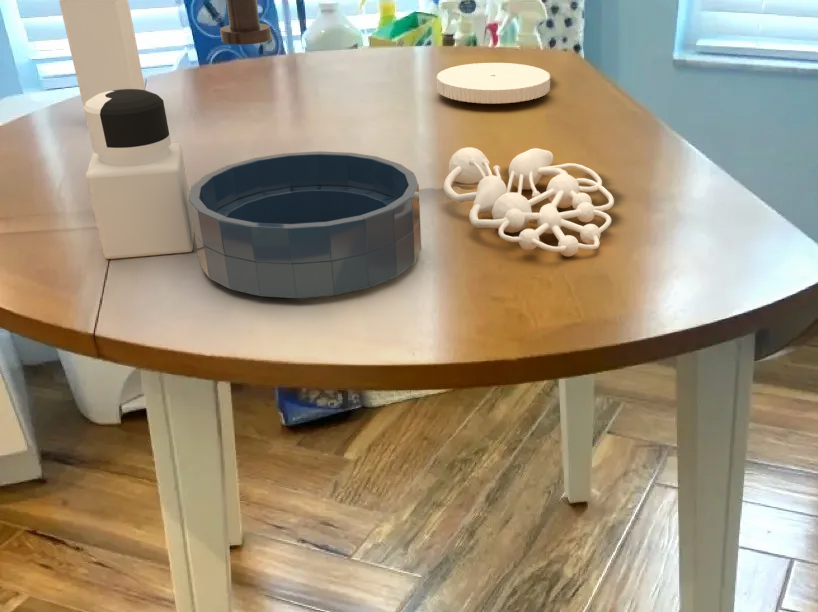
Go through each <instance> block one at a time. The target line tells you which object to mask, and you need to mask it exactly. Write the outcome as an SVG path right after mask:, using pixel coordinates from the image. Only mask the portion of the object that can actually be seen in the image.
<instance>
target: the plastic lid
mask: <svg viewBox="0 0 818 612" xmlns="http://www.w3.org/2000/svg"><path fill="white" fill-rule="evenodd" d="M550 90H551V74H550V72H549V71H547V70H545V69H543V68H540V67H537V66H533V65H527V64H522V63H513V62H512V63H511V62H510V63H509V62H482V63H481V62H478V63H467V64H460V65H456V66H452V67H448V68H446V69H443V70H441V71H439V72H438V73H437V75H436V91H437V93H438V94H439V95H441V96H442V97H444V98H447V99H450V100H454V101H458V102H467V103H473V104H474V103H476V104H488V105H489V104H510V103H513V104H514V103H520V102H525V101H526V102H527V101H531V100H532V101H533V99H534V100H536V99H540V97H544V96H545V95H547V94H549V92H550Z"/></svg>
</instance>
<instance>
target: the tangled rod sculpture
mask: <svg viewBox="0 0 818 612" xmlns="http://www.w3.org/2000/svg"><path fill="white" fill-rule="evenodd" d="M553 163H554V155H553V153H552V152H551V151H550V150H547V149H542V148H537V147H534V148H530V149H528V150H526V151H524V152H521V153H519V154H517V155H516V156H515V157H513V159H512V160H511V161H510V163H509V166H508V177H509V179H508V181H507V185H506V183H505V182H504V180H503V179H502V176H501V174H500V172H501V167H500V165H498V164H496V165H494V166H493V168H492V170H491V168H490V160H489V159H488V158H487V156H486V155H485V154H484V153H483V151H481V150H480V149H479V148H475V147H472V146H470V147H469V146H468V147H461V148H460V149H458V150H456V152H454V153H453V154H452V156H451V158H450V160H449V162H448V175H447V176H446V177H445V179H444V181H443V191H444V193H445V195H446V196H447V197H448V198H449V199H450V200H452V201H454V202H455V203H460V204H461V203H465V202H471V201H473V203H472V207H471V209H470V210H469V216H468V217H469V221H470V224H471V226H472V227H473V228H477V229H498V232H497V233H498V236H499V238H500V239H502V240H503V241H505V242H510V243H518V244H519V246H520V247H521V249H523V250H526V251H531V250H535V249H536V248H540V249H543V250H545V251H547V252H552V253H560V254H561V255H562V256H564V257H569V258H570V257H572V256H575V255H576V254H577V253H578V251H579V249H580V250H585V251H592V250H593V251H594V250H597V249H598V248H599V247H600V243H601V242H600V238H601V236H602V235H601V233H603V232H604V231H605V230H607V229H608V228H609V227H610V225H611V224H612V218H611V215H609V214H608V213H606V212H605V211H608V210H610V209H611V208H613V206H614V204H615V198H614V197H613V195H612V193H611V192H610V191H609V190H607V188H605V187H604V186H603V180H602V178H601V176H599V174H598V173H597V172H596V171H594V170H593V169H591V168H589V167H588V166H585V165H583V164H578V163H574V162H572V163H571V162H569V163H568V162H567V163H563V164H556V165H552V164H553ZM567 169H574V170H578V171H581V172H584V173H586V174H588V175H589V176H591V177H592V178H593V179H594V180H592V179H589V178H585V177H578V178H575V177H573V176H572V175H571V174H569V173H568V172H567ZM492 171H493V172H494V173H495V175H494V174H493V172H492ZM543 176H554V177H552V178H551V179H550V180H549V182H548V184H547V187H546V191H544V192H542V193H541V192H540V191H539V190H537V188H536V185H537V184H538V183H539V181H541V178H542V177H543ZM453 182H455V183H458V184H464V185H457V187H459V188H460V189H463V190H467V191H469V190H470V191H471V190H472V191H471V192H466V193H461V194H460V193H457V192H456V191H455V190H454V189H453V188H452V185H453ZM580 184H582V185H580ZM583 184H584V185H588V186H583ZM512 185H513V186H514V187H515V188H516V189H517V192H512V191H511V189H512ZM473 190H476V191H473ZM523 190H527V191H528V190H531V191H532V193H531V198H530V199H528V198H527V197H526V196H524V195H522V192H523ZM596 191H599V192H601V194H603V196H605V197H606V198H607V200H608V203H606V204H602V205H597V206H596V205H594V204H593V203H592V198H591V196H590V195H589V194H588V193H594V192H596ZM547 199H548V201H549V203H546V204H544V205H542V206H541V207H540V210H539V212H533V211H532V206H535V205H537V204H538V203H540V202H542V201H544V200H547ZM571 206H572V210H566V211H561V212H559V210H558V208H559V209H567V208H570V207H571ZM488 213H491V215H492V219H489V218H488V219H487V218H484V219H483V218H481V219H479V216H478V215H479V214H480V215H482V214H488ZM595 216H598V217H601V218H602V219H604V220H605V222H604V224H602V225H601V226H600V227H599V226H598V225H596V224H594V223H589V222H591V221H593V219H595ZM573 218H577V220H578V221H579V222H582V223H586V224H585V225H580V224H578V223H575V222H572V221H570V220H568V219H573ZM532 220H535V221H536V223H537V228H535V229H533V228H526V227H527V226H528V224H529V223H530V221H532ZM562 227H563V228H565V229H568V230H571V231H574V232H577V233H579V237H580V240H581V241H582V242H583V243H581V242H579V241H578V239H577V238H576V237H575V236H574V235H570V234H567V235H565V234H564V232H563V230H562V229H561V228H562ZM517 232H519V235H518V236H510V235H507V234H505V233H508V234H514V233H517ZM544 233H545V234H553V236H555V238H556V239H557V241H558V243H557V246H553V245H549V244H546V243H544V242H542V241H541V240H540V236H541V235H542V234H544Z"/></svg>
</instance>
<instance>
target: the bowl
mask: <svg viewBox="0 0 818 612" xmlns="http://www.w3.org/2000/svg"><path fill="white" fill-rule="evenodd" d="M189 193H190V195H189V206H190V211H191V217H192V223H193V228H194V239H195V240H194V241H195V245H196V250H197V255H198V256H197V257H198V261H199V267H200V268H201V269H202V271H203V272H204V273H205V274H206V276H207V277H208V279H209V280H211V281H213V282H215V283H217V284H219V285H221V286H222V287H225V288H227V289H229V290H232V291H237V292H241V293H245V294H249V295H253V296H258V297H268V298H269V297H270V298H286V299H309V298H311V299H313V298H322V297H323V298H324V297H332V296H336V295H342V294H343V295H344V294H348V293H352V292H356V291H359V290H364V289H369V288H372V287H375V286H377V285H380V284H383V283H384V282H385V283H386V282H388V281H390V280H392V279H395V278H397V277H398V276H400V275H401V274H402V273H404V272H405V271H406V270H408V269H409V268H411V267H412V266H413V265H414V264H415V263H416V261H417V259H418V257H419V255H420V252H421V251H422V234H421V233H422V232H421V210H420V209H421V208H420V207H421V206H420V205H421V204H420V185H419V181H418V179H417V177H416V174H415V172H413V171H412V170H410V169H408V168H407V167H406V166H404V165H403V164H401V163H398V162H395V161H392V160H388V159H385V158H382V157H379V156H375V155H369V154H363V153H357V152H344V151H343V152H341V151H317V150H316V151H303V152H286V153H285V152H284V153H277V154H272V155H271V154H270V155H266V156H265V155H264V156H259V157H253V158H249V159H246V160H243V161H239V162H235V163H232V164H228V165H225V166H223V167H220V168H218V169H217V170H215V171H212V172H210V173H207V174H205V175H204V176H201V178H200V179H199V180H197V181H196V182H195V183H194V184H193V185H192V186H190V189H189Z"/></svg>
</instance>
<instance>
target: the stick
mask: <svg viewBox="0 0 818 612" xmlns="http://www.w3.org/2000/svg"><path fill="white" fill-rule="evenodd" d="M225 1H226V9H227V16H228V22H229V25H228V24H227V25H224V26H221V27H220V28H219V32H220V39H221V42H222V43H223V44H227V45H237V46H243V45H244V46H246V45H257V44H262V43H266V42H268V41H271V39H272V32H271V26H270V25H269V24H266V23H260V18H259V17H260V16H259V11H258V0H225Z"/></svg>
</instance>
